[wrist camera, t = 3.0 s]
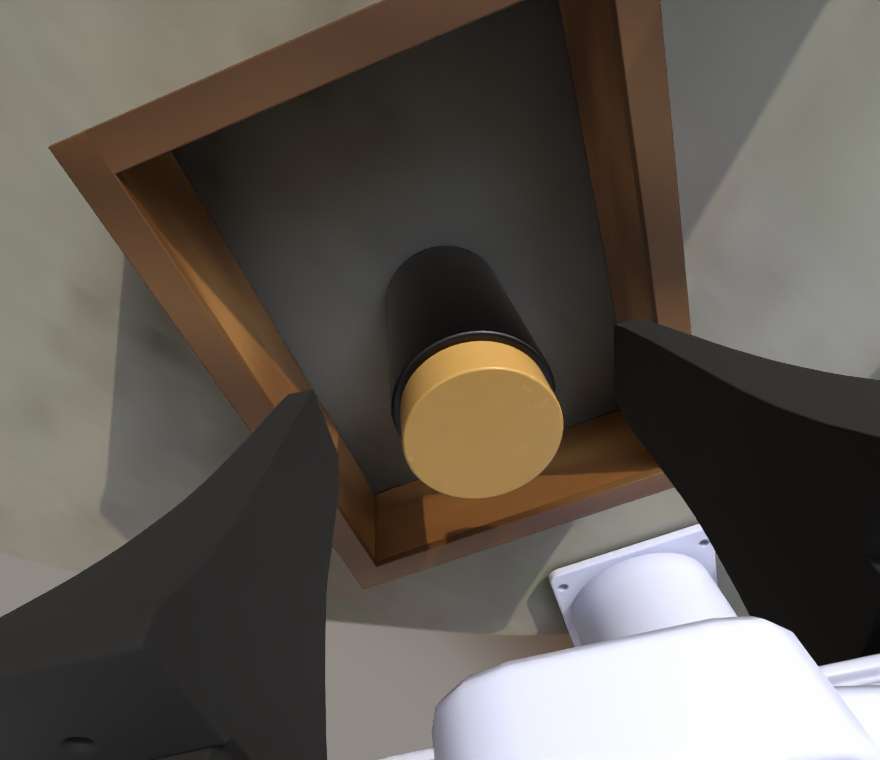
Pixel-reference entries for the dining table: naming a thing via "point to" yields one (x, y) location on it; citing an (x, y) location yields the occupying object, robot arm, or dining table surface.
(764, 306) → the dining table surface
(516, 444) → the pepper shaker
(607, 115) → the open wooden box
